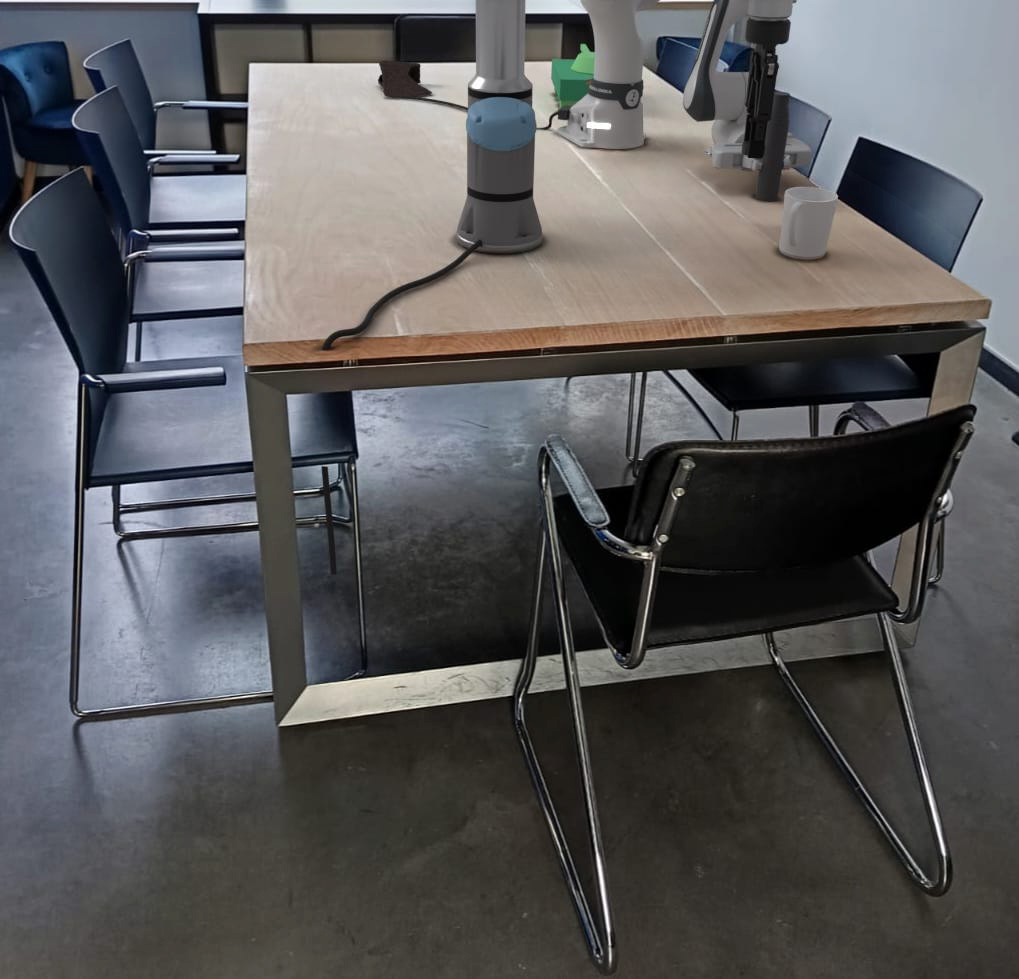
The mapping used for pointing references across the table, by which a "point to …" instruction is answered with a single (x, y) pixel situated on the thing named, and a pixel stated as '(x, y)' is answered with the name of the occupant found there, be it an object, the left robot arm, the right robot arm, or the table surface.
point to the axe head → (401, 79)
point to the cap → (746, 145)
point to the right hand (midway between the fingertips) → (773, 166)
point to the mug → (806, 222)
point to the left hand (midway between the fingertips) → (752, 153)
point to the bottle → (774, 149)
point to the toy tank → (572, 77)
